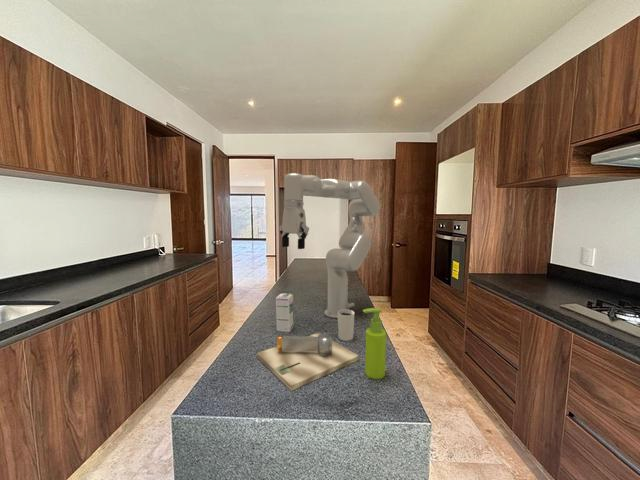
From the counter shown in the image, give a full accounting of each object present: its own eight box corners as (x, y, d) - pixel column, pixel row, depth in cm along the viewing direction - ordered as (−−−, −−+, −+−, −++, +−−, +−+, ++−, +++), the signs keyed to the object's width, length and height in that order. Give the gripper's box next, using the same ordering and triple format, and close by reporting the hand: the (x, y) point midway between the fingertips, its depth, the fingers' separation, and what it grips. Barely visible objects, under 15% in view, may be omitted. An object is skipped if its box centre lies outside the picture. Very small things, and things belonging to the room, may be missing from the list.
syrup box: (289, 332, 110) (289, 297, 109) (276, 331, 111) (275, 296, 110) (294, 326, 116) (293, 293, 114) (280, 325, 117) (280, 292, 116)
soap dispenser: (359, 368, 85) (360, 306, 83) (381, 367, 85) (383, 305, 83) (364, 379, 79) (365, 313, 77) (387, 378, 79) (389, 312, 77)
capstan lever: (332, 346, 95) (332, 332, 94) (332, 358, 87) (332, 343, 86) (279, 345, 95) (279, 331, 95) (275, 357, 87) (274, 342, 87)
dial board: (318, 336, 107) (318, 332, 107) (358, 360, 89) (359, 355, 89) (257, 357, 91) (256, 352, 91) (291, 391, 74) (291, 385, 74)
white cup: (335, 339, 104) (335, 314, 103) (339, 332, 110) (340, 308, 109) (352, 342, 102) (352, 316, 101) (356, 334, 108) (356, 310, 107)
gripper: (315, 205, 105) (314, 249, 107) (287, 206, 117) (286, 245, 119) (301, 204, 100) (300, 250, 101) (273, 205, 112) (272, 246, 113)
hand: (293, 247), depth 110 cm, fingers open, 9 cm apart
